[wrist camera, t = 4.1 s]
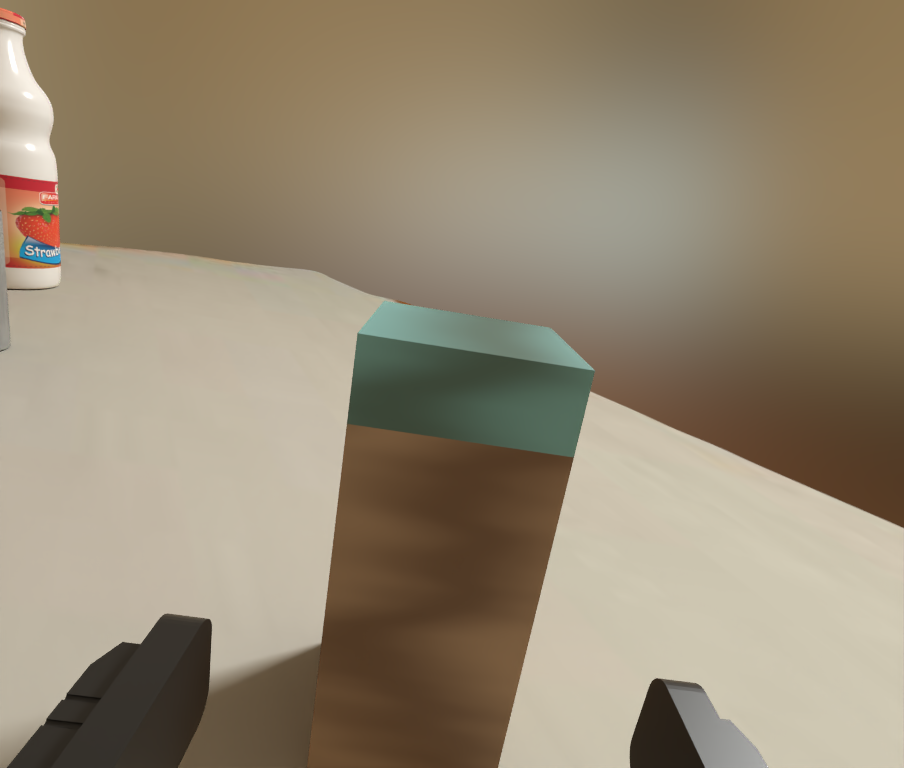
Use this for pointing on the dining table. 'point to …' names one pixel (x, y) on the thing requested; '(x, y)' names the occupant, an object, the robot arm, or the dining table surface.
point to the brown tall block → (441, 535)
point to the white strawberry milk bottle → (26, 168)
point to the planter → (3, 295)
